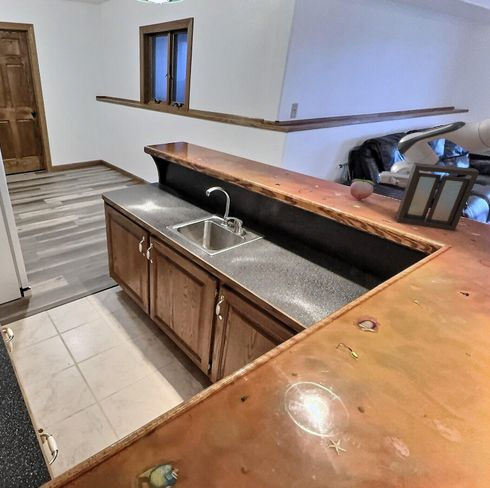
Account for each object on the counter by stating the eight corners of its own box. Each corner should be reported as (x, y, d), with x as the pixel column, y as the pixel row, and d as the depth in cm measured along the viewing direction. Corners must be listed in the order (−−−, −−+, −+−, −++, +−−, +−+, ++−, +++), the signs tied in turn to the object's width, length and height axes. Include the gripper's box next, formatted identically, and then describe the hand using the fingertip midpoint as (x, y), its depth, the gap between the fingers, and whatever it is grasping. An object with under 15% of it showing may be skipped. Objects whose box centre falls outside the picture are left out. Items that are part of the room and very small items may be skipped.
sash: (422, 215, 134) (438, 172, 127) (425, 219, 131) (441, 175, 123) (401, 212, 137) (415, 169, 130) (403, 216, 133) (417, 172, 126)
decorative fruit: (370, 198, 156) (376, 177, 152) (370, 204, 150) (376, 181, 145) (347, 195, 160) (353, 174, 156) (346, 200, 154) (351, 178, 149)
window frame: (451, 225, 130) (474, 168, 120) (454, 230, 125) (479, 171, 116) (395, 217, 136) (413, 162, 127) (397, 222, 132) (416, 165, 123)
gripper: (380, 166, 154) (382, 173, 143) (435, 171, 147) (442, 180, 136) (376, 180, 157) (378, 188, 146) (429, 186, 150) (436, 195, 138)
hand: (409, 184), depth 141 cm, fingers open, 8 cm apart
